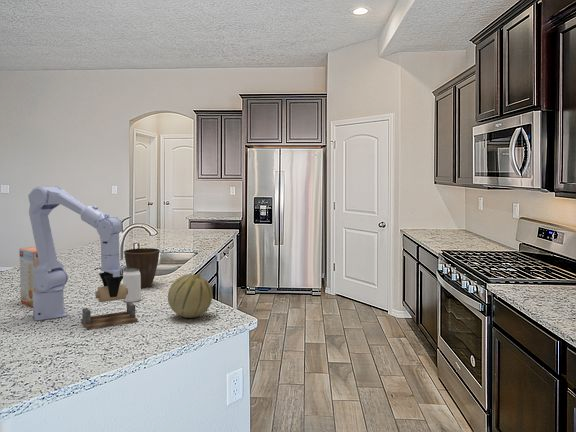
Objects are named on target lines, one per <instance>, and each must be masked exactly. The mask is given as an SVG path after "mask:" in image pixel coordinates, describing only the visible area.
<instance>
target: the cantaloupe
mask: <svg viewBox="0 0 576 432" xmlns="http://www.w3.org/2000/svg"><path fill="white" fill-rule="evenodd" d="M212 291H213V290H212V287H211V285H210V283H209V282H208V280H207V279H206V278H204V277H202V276H201V273H197V274H192V273H191V274H190V273H187V274H183V275H181V276H179V277H178V278H176V279H175V280H174V281H173V282H172V284H171V285H170V286H169V288H168V292H167V302H168V305H169V307H170V309H171V310H172V311H173V312H174V313H175V314H176V315H178V316H180V317H183V318H185V319H193V318H194V319H195V318H198V317H200V316H202V315H204V313H206V312H207V311H208V310H209V308H210V306H211V303H212V301H213V292H212Z"/></svg>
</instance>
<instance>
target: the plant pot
mask: <svg viewBox="0 0 576 432" xmlns="http://www.w3.org/2000/svg"><path fill="white" fill-rule="evenodd" d="M123 254H124V260H125V261H124V262H125V264H126V269H139V272H140V275H141V289H147V287H148V288H151V287H152V285H153V282H154V279H155V276H156V273H157V268H158V263H159V258H160V249H158V248H153V247H150V248H149V247H146V248H145V247H144V248H140V247H139V248H131V249H130V248H129V249H126V250H124V251H123Z"/></svg>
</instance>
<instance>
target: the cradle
mask: <svg viewBox="0 0 576 432" xmlns="http://www.w3.org/2000/svg"><path fill="white" fill-rule="evenodd" d="M125 304H126V311H119V312H112V313H111V312H110V313H107V314H106V313H105V314H97V315H92V314H91V310H90V309H89V307H83V308H82V309H81V312H82V318H80V322H81V324H82V325H83V326H84V328H85V329H87V330H93V329H101V328H106V327H113V326H119V325H120V326H121V325H127V324H133V323H138V322H139V319H138V317H137V316H136V304H134V302H125Z"/></svg>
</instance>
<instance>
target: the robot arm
mask: <svg viewBox="0 0 576 432" xmlns="http://www.w3.org/2000/svg"><path fill="white" fill-rule="evenodd" d="M28 201H29V208H28V216H29V221H30V225H31V230H32V235H33V240H34V243H35V247H36V250H37V254H38V259H39V265H38V267H37V268H36V269H35V271H34V272H35V279H34V284H35V287H36V288H37V289H38V292H34V293H33V307H32V316H33V317H34V319H35V321H41V320H47V319H48V320H50V319H55V318H56V319H57V318H64V317H67V316H68V315H67V313H66V311H65V302H64V299H65V297H64V295H65V294H64V289H65V285H66V284H67V283H68V280H69V275H68V273H67V271H66V270H65V268H64V264H63V263H62V262H60V261H59V260H58V258H57V253H56V250H55V243H54V239H53V233H52V230H51V224H50V219H49V215H50V214H51V212H52V211H53V210H54V209H56V208H57V207H59V206H60V205H61V206H63V207H65V208H67V209H69V210H71V211H73V212H74V213H76V214H78V215H79V216H80V218H81V219H80V220H81V221H83V222H85V224H87V225H89V226H91V227H92V228H94V229H95V230H96V232H97V233H98V235H99V240H100V261H101V262H100V264H101V267H100V271H101V272H99V273H98V276H99V277H100V279H101V281H102V284H103V286H108V290H109V295H110V297H117V295H118V290H119V286H120V284H122V283H121V282H123V274H122V275H121V270H125V269H124V266H123V265H122V266H121V262H120V261H121V259H120V258H121V257H120V256H121V255H120V253H121V252H120V251H121V249H120V234H121V232H122V230H123V229H124V228H123V223H122V220H121V219H119V217H117V216H113V217H112V216H110V214H109V213H105V212H103V211H101V210H100V209H99V206H97V205H88V206H87V205H85V204H84V203H82V202H81V201H79V200H78V199H77V198H76V197H73V196H72V195H71V194H70V193H68V191H67V190H66V189H63V188H62V187H60V186H35V187H33V188H32V190H31V191H30V193H28Z"/></svg>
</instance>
